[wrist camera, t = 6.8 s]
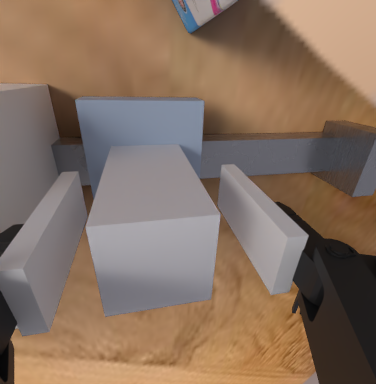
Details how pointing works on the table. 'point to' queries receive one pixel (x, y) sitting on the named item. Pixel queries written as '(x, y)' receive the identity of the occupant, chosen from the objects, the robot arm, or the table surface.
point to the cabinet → (25, 150)
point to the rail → (272, 155)
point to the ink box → (199, 11)
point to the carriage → (148, 201)
